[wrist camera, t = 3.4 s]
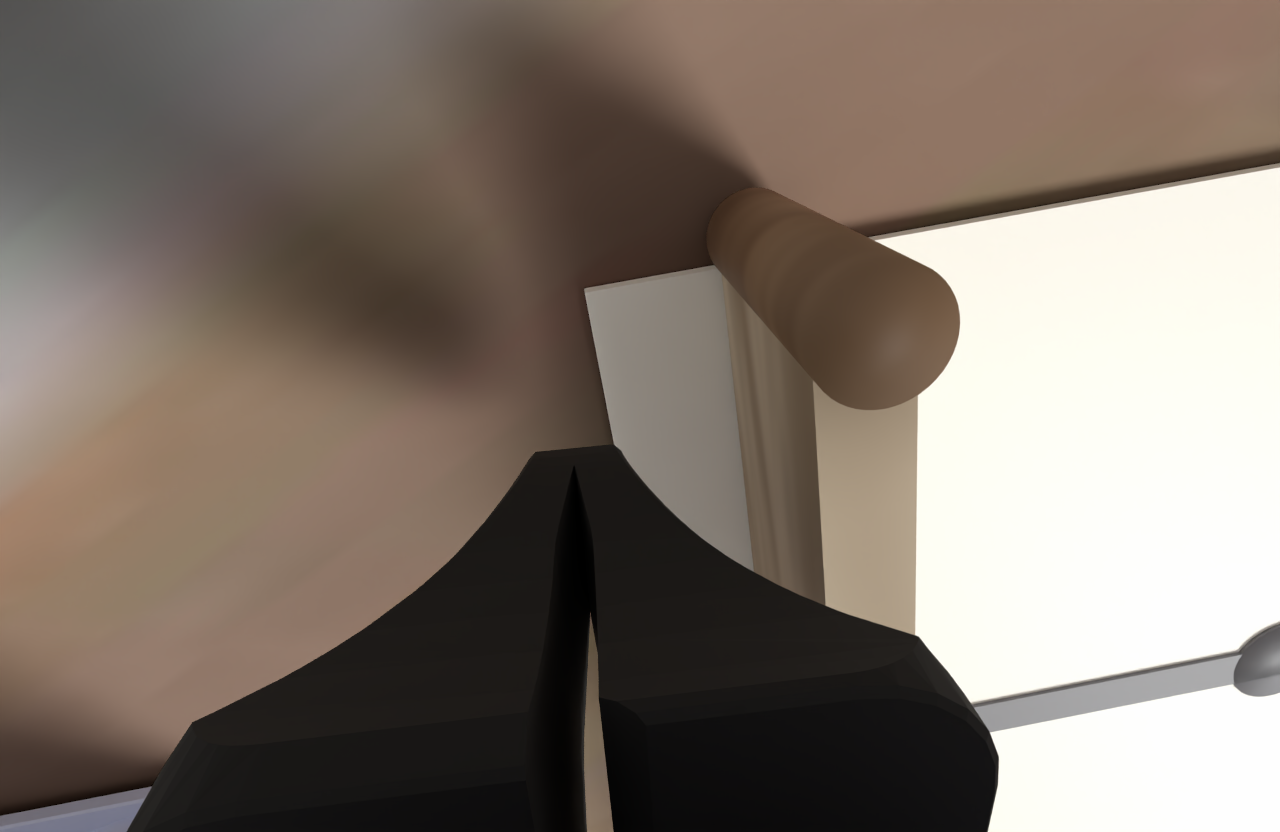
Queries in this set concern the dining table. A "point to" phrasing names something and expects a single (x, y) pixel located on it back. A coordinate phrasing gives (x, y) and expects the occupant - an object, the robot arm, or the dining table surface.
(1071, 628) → the card
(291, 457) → the dining table surface
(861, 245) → the hinged fence panel
